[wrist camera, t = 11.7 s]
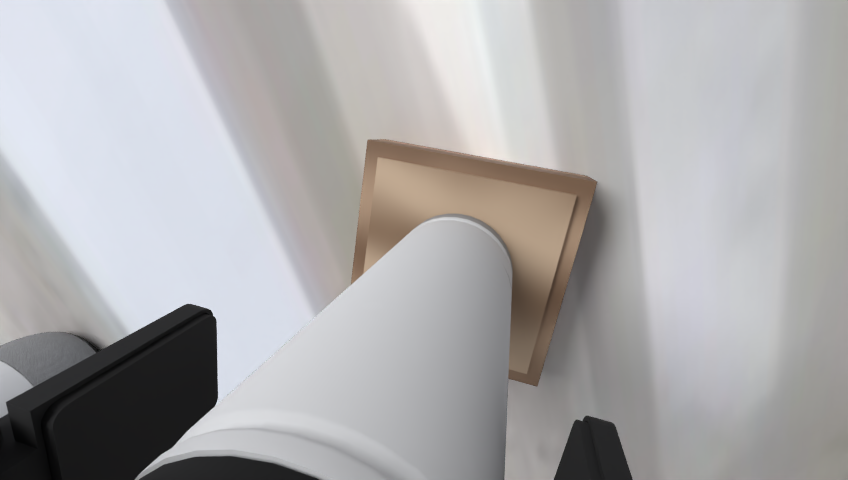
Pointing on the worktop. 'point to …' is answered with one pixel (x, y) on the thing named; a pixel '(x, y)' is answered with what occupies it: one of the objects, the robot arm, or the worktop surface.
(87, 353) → the smart speaker
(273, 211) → the worktop surface
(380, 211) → the plinth
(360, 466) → the travel mug
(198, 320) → the robot arm
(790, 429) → the worktop surface
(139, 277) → the worktop surface
